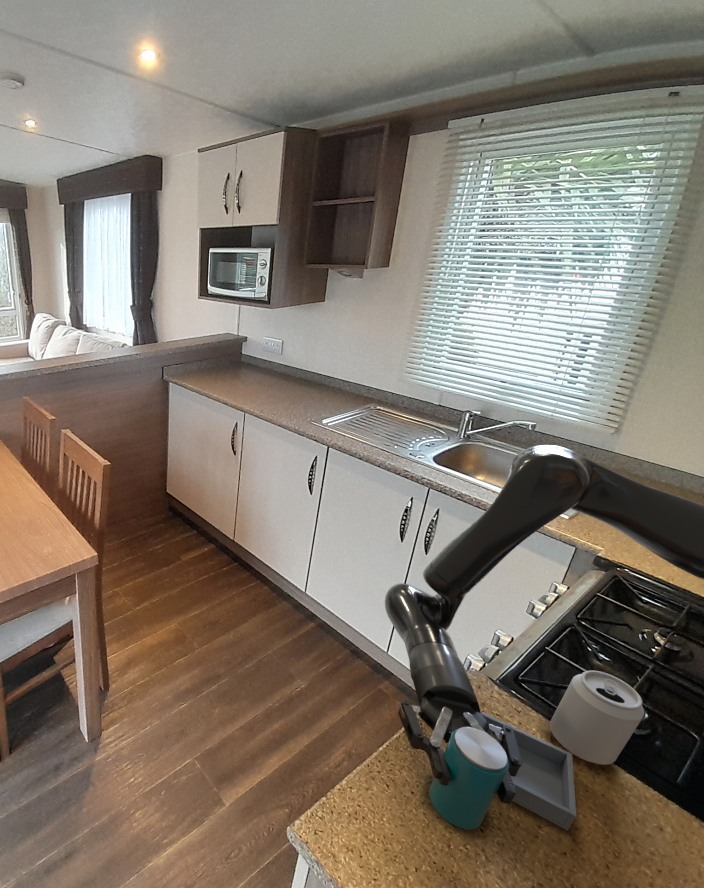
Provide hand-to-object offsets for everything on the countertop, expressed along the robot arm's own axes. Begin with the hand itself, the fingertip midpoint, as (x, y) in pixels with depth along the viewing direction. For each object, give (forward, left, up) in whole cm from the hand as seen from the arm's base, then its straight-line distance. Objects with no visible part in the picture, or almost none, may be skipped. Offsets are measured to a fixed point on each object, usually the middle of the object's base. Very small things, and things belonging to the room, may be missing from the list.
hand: (476, 789), depth 60 cm
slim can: (+1, -2, -7) cm, 8 cm away
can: (-13, -24, -7) cm, 28 cm away
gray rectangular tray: (-5, -13, -7) cm, 16 cm away
